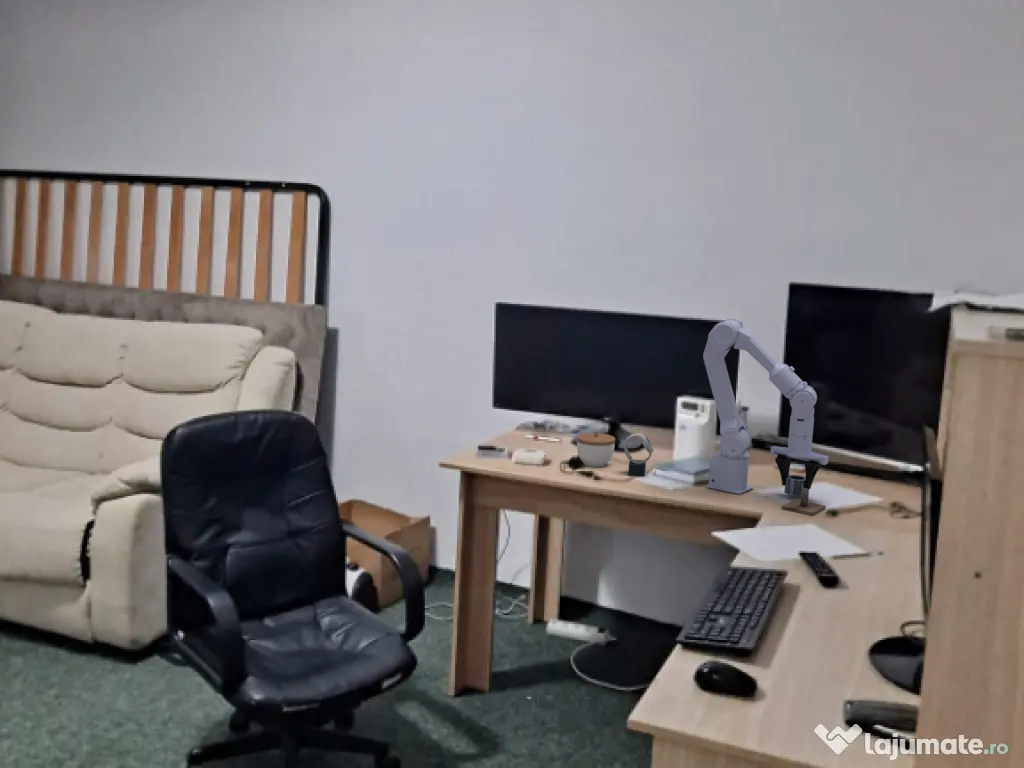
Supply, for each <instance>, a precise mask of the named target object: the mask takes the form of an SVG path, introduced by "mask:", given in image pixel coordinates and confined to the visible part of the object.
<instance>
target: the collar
mask: <svg viewBox="0 0 1024 768" xmlns="http://www.w3.org/2000/svg"><path fill="white" fill-rule="evenodd" d="M805 479H806V475H804V476H803V475H800V474H789V475H787V476H786V478H785V485H784V494H786V495H789V496H794V497H801V489H802V488H805Z"/></svg>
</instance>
